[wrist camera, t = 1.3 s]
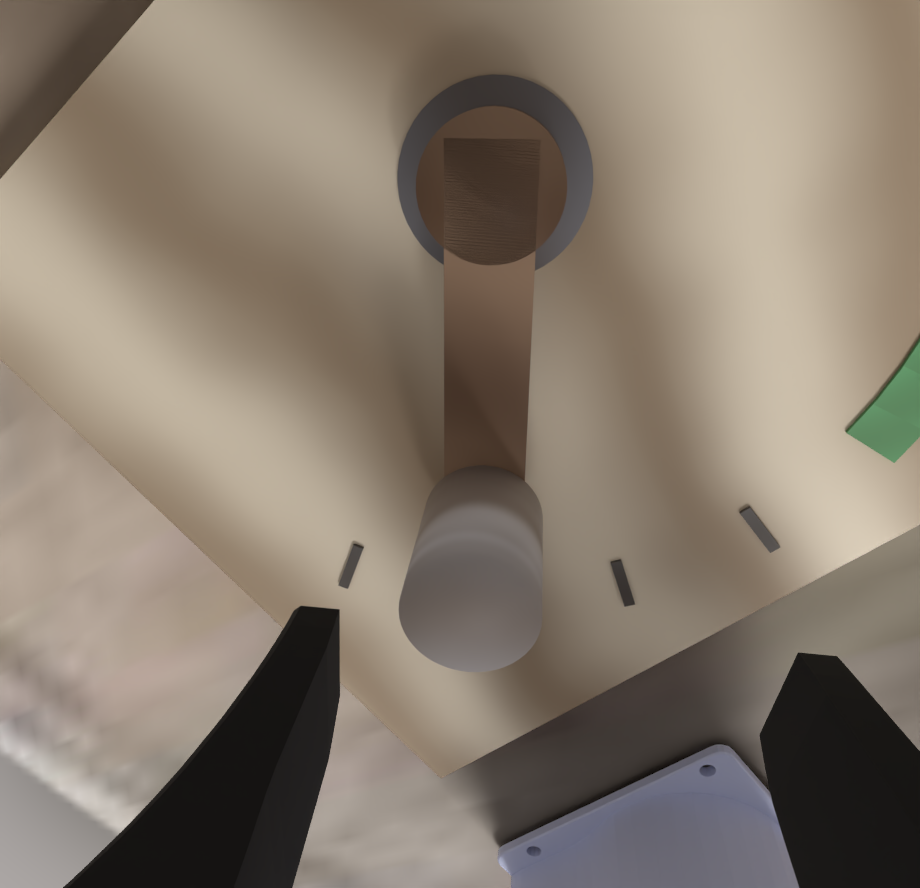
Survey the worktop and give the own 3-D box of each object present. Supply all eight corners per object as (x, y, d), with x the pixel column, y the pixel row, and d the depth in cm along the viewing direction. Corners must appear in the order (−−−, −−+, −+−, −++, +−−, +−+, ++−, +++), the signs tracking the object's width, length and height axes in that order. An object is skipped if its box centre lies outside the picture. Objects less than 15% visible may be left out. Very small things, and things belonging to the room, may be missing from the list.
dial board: (445, 750, 27) (440, 781, 26) (-53, 267, 21) (-88, 278, 20) (1304, 281, 18) (1358, 295, 17) (847, -757, 12) (877, -844, 11)
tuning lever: (421, 104, 17) (376, 113, 12) (570, 106, 17) (580, 116, 12) (428, 631, 23) (399, 767, 18) (538, 639, 23) (536, 779, 18)
